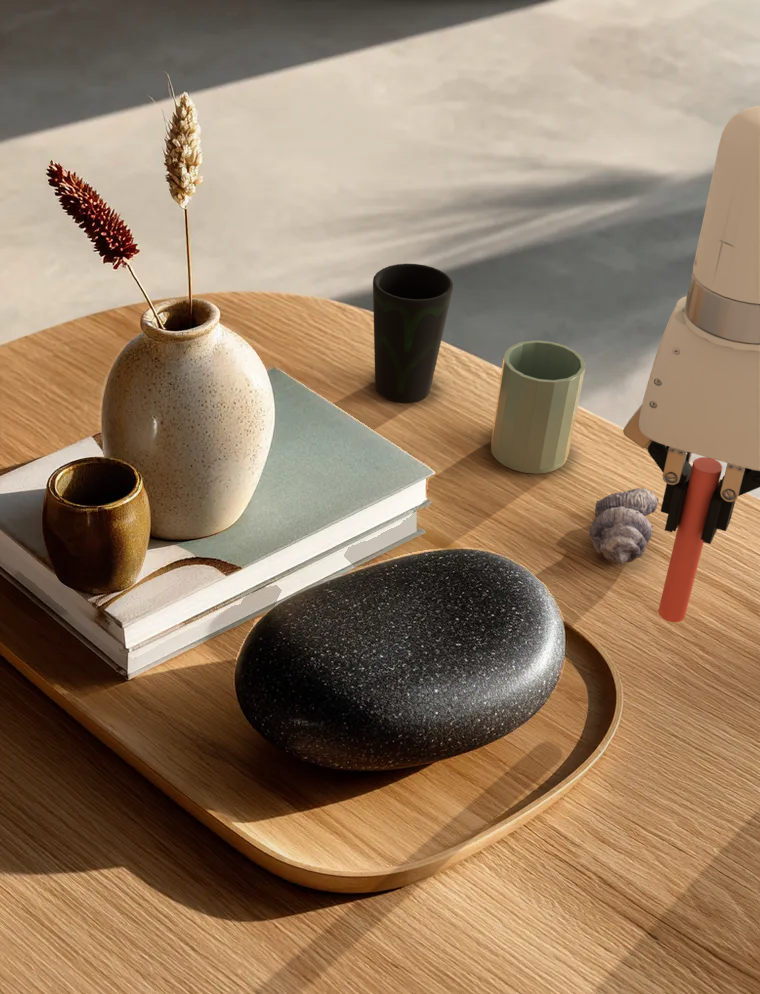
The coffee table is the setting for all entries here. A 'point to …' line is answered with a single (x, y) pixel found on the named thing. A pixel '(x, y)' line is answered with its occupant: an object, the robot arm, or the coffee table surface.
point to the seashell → (623, 524)
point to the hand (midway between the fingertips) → (692, 525)
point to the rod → (689, 539)
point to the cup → (408, 328)
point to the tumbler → (537, 406)
